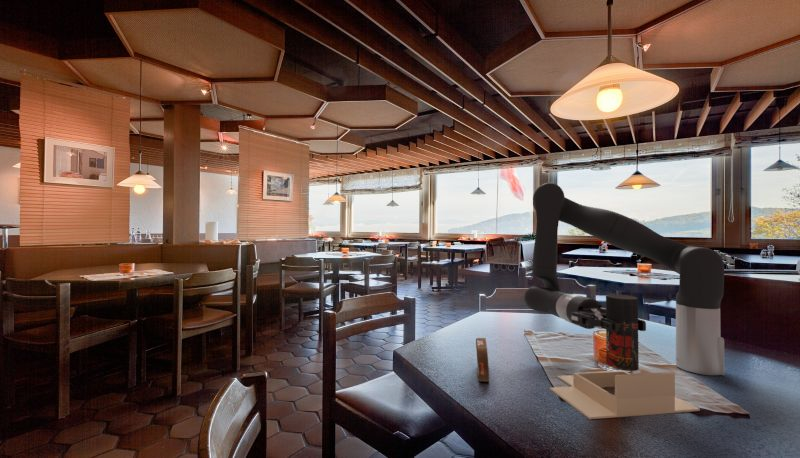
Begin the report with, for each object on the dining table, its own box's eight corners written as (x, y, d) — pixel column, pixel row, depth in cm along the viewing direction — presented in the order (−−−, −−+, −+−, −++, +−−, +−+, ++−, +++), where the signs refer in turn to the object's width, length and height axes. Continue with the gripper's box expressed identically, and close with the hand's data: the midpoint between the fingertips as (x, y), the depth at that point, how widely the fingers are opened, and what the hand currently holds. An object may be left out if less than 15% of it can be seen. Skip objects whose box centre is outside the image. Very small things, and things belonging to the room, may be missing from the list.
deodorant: (600, 361, 79) (599, 294, 79) (625, 360, 79) (624, 294, 80) (619, 371, 73) (618, 299, 73) (645, 370, 73) (644, 299, 74)
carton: (535, 378, 86) (536, 346, 87) (625, 374, 90) (625, 343, 91) (589, 419, 67) (589, 377, 68) (699, 410, 71) (699, 371, 72)
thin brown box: (489, 388, 81) (490, 351, 81) (476, 386, 81) (476, 350, 82) (486, 365, 96) (487, 334, 96) (475, 363, 96) (475, 333, 96)
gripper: (552, 296, 89) (600, 310, 73) (602, 294, 92) (660, 308, 75) (553, 325, 89) (601, 346, 73) (603, 323, 91) (660, 343, 75)
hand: (630, 326), depth 74 cm, fingers closed on deodorant, 6 cm apart
